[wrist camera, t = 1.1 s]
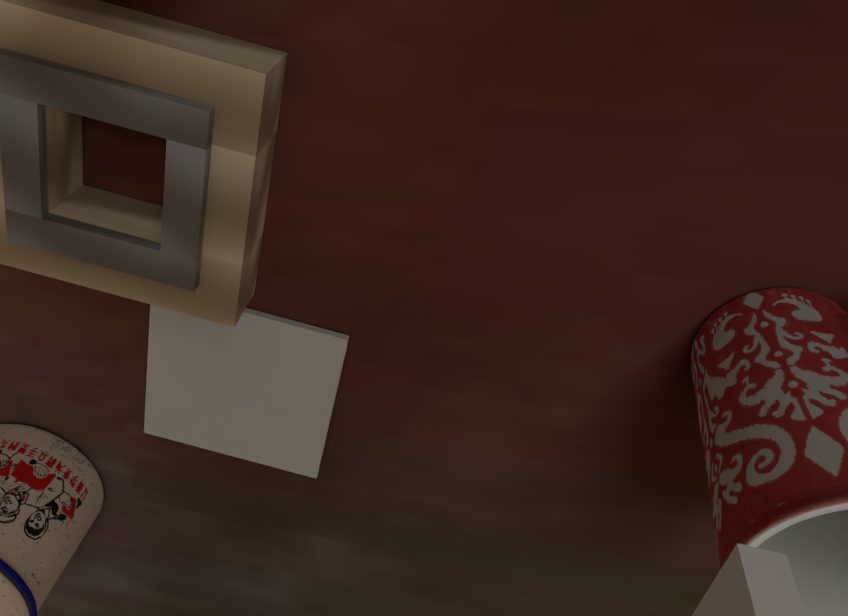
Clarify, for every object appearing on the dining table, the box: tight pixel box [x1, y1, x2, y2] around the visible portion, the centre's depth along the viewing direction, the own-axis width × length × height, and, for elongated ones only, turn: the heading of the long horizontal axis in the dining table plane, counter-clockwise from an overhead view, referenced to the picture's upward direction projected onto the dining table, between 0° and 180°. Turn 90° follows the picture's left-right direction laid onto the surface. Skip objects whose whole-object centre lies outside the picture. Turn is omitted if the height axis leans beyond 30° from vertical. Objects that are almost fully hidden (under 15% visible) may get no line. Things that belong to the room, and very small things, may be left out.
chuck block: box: [0, 0, 288, 327], centre depth 34 cm, size 12×15×4 cm
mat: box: [144, 304, 349, 478], centre depth 42 cm, size 10×10×1 cm
